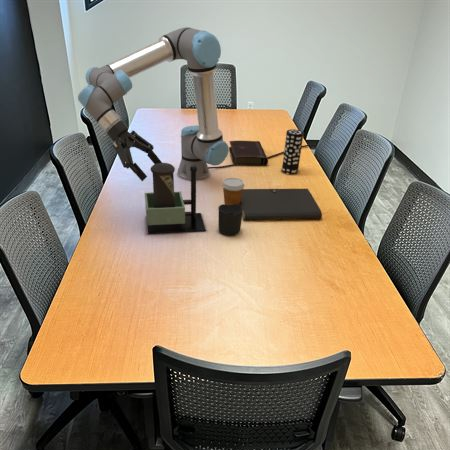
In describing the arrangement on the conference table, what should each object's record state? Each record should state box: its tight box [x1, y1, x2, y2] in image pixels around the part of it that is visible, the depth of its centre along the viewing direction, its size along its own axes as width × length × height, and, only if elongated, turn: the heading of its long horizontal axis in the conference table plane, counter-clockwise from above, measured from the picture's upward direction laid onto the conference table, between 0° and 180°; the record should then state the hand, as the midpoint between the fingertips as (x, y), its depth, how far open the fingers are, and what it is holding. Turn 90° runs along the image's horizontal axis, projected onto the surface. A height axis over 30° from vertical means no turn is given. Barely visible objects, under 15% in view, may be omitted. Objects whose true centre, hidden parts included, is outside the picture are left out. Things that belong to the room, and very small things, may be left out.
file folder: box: [240, 188, 323, 221], centre depth 200 cm, size 33×4×24 cm
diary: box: [228, 140, 269, 167], centre depth 247 cm, size 19×25×5 cm
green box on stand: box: [144, 165, 207, 235], centre depth 178 cm, size 23×15×24 cm, turn 101°
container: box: [150, 162, 176, 208], centre depth 176 cm, size 9×9×20 cm
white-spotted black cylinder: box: [281, 128, 305, 176], centre depth 229 cm, size 8×8×20 cm
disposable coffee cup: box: [221, 177, 245, 205], centre depth 196 cm, size 10×10×12 cm
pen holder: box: [218, 203, 243, 237], centre depth 180 cm, size 9×9×10 cm
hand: (153, 172), depth 173 cm, fingers open, 13 cm apart
